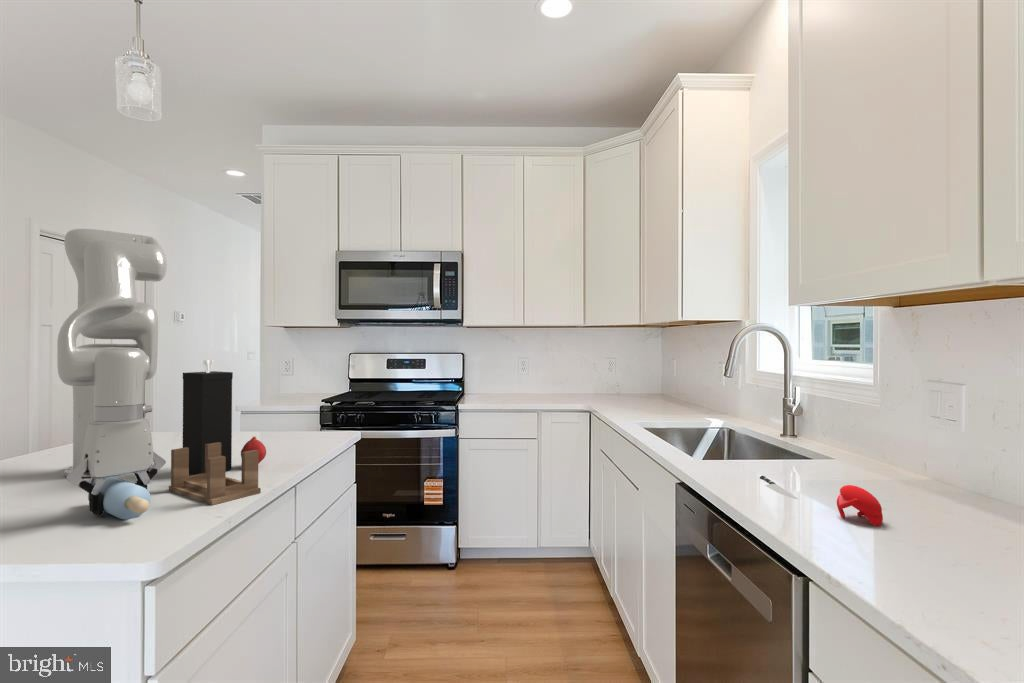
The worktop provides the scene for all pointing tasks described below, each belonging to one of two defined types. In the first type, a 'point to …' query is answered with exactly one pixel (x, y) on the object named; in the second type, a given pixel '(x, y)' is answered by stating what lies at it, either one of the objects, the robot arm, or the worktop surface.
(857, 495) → the cap
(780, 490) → the chef's knife
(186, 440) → the tall black box
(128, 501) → the blue rolling pin
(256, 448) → the onion
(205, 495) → the holder
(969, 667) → the worktop surface
